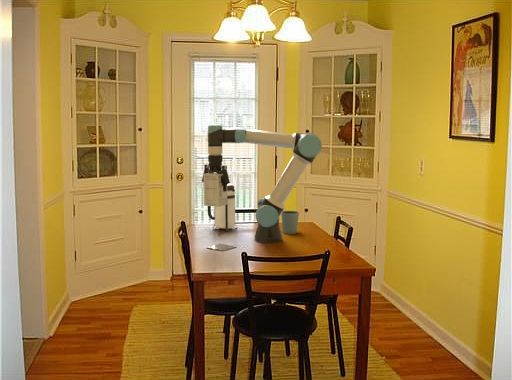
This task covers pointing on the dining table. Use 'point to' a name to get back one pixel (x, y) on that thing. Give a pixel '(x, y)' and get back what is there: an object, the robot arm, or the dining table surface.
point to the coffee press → (225, 211)
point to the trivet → (221, 247)
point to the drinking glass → (289, 221)
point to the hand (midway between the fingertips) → (215, 196)
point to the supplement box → (213, 190)
